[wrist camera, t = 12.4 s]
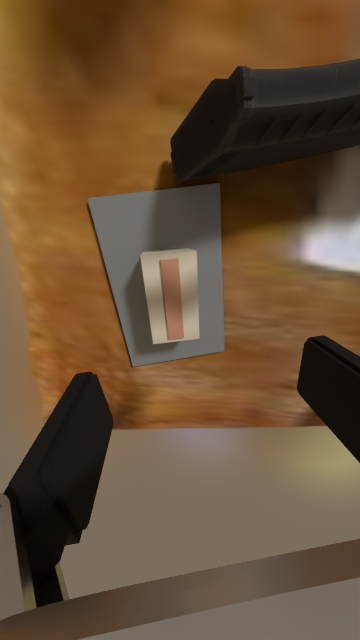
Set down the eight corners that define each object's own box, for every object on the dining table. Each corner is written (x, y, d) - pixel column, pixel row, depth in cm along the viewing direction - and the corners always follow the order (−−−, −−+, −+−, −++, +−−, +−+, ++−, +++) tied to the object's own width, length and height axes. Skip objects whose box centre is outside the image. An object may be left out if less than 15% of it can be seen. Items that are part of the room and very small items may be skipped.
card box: (192, 321, 25) (199, 339, 21) (153, 326, 25) (153, 345, 20) (188, 247, 21) (197, 250, 17) (143, 251, 21) (140, 255, 17)
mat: (218, 184, 20) (220, 182, 19) (223, 348, 28) (224, 351, 27) (89, 199, 19) (87, 198, 18) (133, 364, 27) (133, 366, 27)
